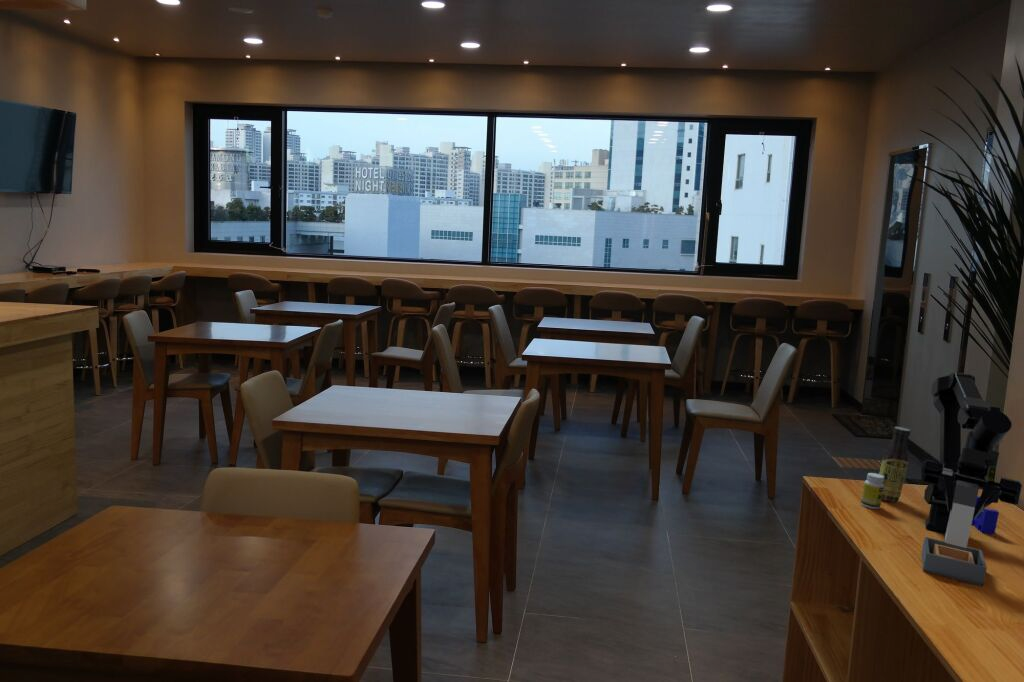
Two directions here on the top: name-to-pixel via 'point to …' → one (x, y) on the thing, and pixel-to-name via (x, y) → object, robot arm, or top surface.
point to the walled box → (953, 561)
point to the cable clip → (986, 520)
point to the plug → (961, 513)
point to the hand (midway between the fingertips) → (961, 514)
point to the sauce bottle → (895, 465)
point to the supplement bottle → (873, 491)
